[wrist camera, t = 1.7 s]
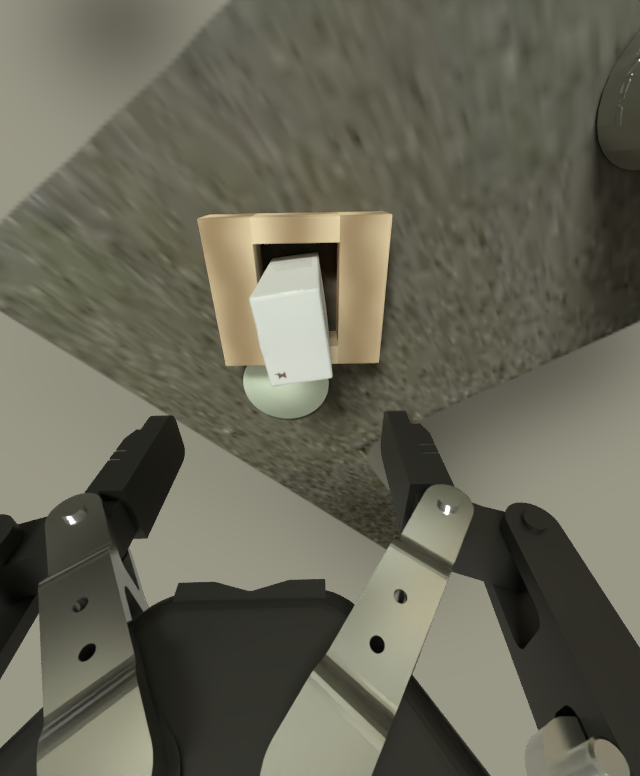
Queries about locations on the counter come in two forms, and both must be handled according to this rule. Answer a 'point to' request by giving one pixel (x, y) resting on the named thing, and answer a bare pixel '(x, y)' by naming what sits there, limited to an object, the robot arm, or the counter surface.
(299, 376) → the skincare box
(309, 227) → the pocket block
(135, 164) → the counter surface
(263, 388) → the coaster
